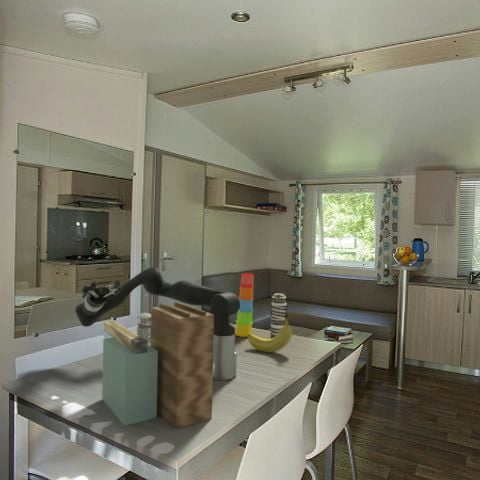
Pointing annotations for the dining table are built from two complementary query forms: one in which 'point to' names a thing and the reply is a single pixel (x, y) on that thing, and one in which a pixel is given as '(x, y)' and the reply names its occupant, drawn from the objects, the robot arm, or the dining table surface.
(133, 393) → the pale teal block
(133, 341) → the pale wooden beam
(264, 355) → the dining table surface
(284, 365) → the dining table surface
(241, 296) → the stacking cups
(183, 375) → the tall wooden block
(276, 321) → the decorative candle
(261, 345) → the banana
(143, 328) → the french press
